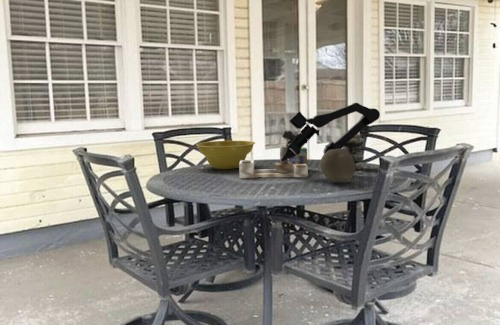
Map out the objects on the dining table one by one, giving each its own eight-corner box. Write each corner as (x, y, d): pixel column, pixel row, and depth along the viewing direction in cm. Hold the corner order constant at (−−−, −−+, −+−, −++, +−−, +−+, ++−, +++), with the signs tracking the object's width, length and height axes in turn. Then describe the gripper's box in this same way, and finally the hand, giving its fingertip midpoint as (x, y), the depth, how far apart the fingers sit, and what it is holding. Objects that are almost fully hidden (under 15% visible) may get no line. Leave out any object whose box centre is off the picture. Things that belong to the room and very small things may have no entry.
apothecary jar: (364, 170, 254) (364, 134, 252) (339, 170, 256) (339, 134, 254) (362, 166, 266) (362, 132, 264) (339, 167, 268) (339, 132, 266)
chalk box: (307, 171, 256) (307, 142, 254) (289, 171, 256) (288, 142, 255) (306, 168, 265) (305, 140, 263) (288, 169, 266) (288, 140, 264)
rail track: (306, 173, 250) (306, 157, 249) (308, 176, 238) (307, 160, 237) (241, 174, 252) (240, 159, 251) (239, 178, 240) (239, 162, 239)
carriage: (292, 167, 248) (291, 145, 247) (292, 169, 240) (292, 147, 239) (275, 167, 249) (275, 146, 247) (275, 169, 241) (275, 147, 239)
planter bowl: (244, 172, 258) (243, 146, 257) (186, 171, 269) (185, 145, 267) (263, 164, 289) (262, 140, 287) (211, 163, 299) (210, 140, 297)
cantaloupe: (343, 179, 227) (343, 146, 225) (361, 184, 214) (361, 148, 212) (315, 182, 222) (314, 148, 220) (331, 187, 209) (331, 151, 207)
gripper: (291, 123, 251) (269, 146, 253) (292, 125, 232) (269, 150, 234) (307, 139, 251) (285, 161, 253) (310, 142, 233) (286, 166, 235)
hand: (281, 159), depth 244 cm, fingers open, 9 cm apart
